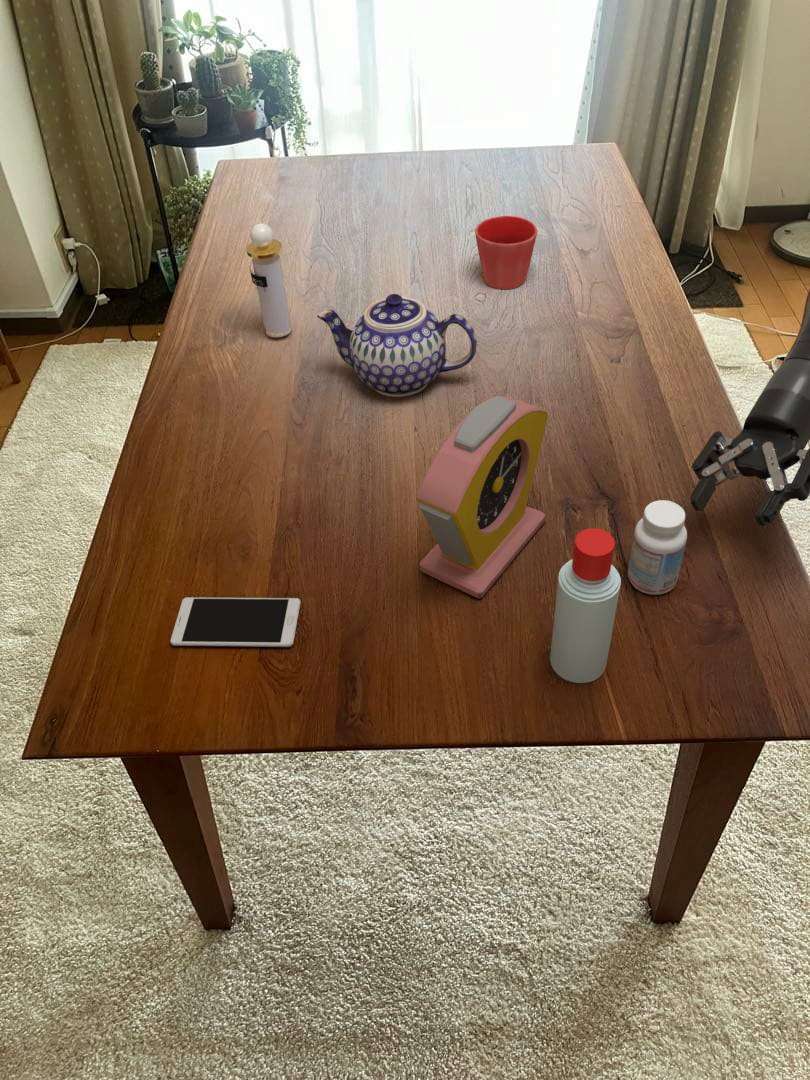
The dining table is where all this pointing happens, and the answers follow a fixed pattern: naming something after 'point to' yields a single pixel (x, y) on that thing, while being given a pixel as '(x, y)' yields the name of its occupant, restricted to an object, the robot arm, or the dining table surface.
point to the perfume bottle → (269, 279)
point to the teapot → (397, 345)
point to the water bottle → (583, 624)
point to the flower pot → (505, 250)
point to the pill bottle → (658, 548)
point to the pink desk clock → (483, 494)
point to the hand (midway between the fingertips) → (727, 514)
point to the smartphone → (236, 622)
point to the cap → (593, 554)
